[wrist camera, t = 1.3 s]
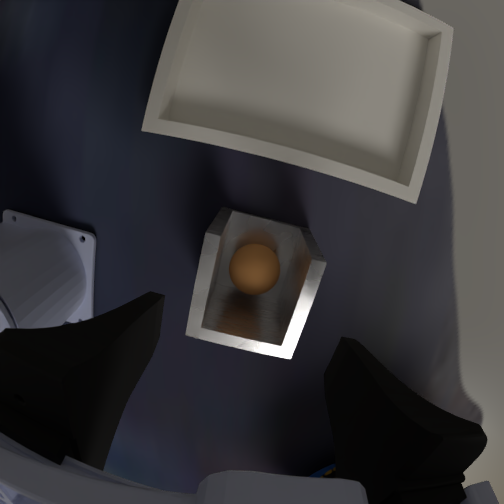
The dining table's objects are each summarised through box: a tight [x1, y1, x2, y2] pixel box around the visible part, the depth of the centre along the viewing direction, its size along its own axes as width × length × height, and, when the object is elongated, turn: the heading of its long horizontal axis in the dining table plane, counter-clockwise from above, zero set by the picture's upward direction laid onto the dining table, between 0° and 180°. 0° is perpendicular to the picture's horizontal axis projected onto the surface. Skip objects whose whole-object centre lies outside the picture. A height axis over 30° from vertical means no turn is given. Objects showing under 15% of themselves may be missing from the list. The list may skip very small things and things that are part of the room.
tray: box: [141, 0, 453, 204], centre depth 16 cm, size 16×12×2 cm
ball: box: [229, 244, 280, 295], centre depth 19 cm, size 3×3×3 cm
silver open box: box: [186, 207, 326, 359], centre depth 18 cm, size 6×6×6 cm
